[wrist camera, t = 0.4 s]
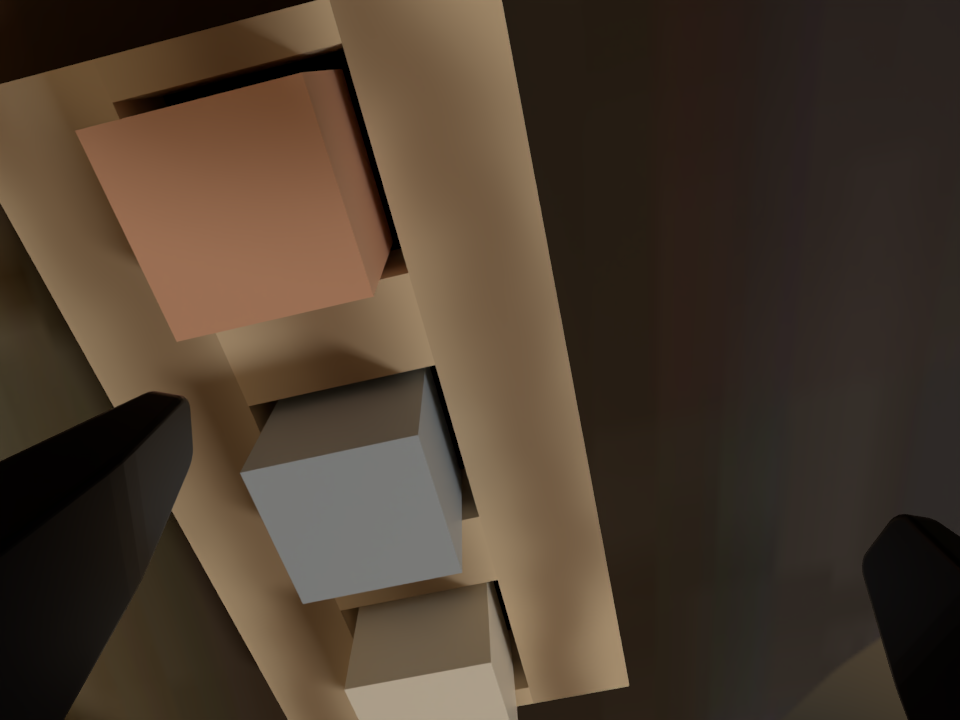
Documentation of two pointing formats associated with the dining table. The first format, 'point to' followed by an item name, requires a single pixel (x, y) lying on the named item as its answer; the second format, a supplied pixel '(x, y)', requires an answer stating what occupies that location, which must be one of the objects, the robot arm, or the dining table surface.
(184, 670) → the dining table surface
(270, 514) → the grey cube
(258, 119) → the brown cube
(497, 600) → the beige cube
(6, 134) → the beige flat board
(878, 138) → the dining table surface
